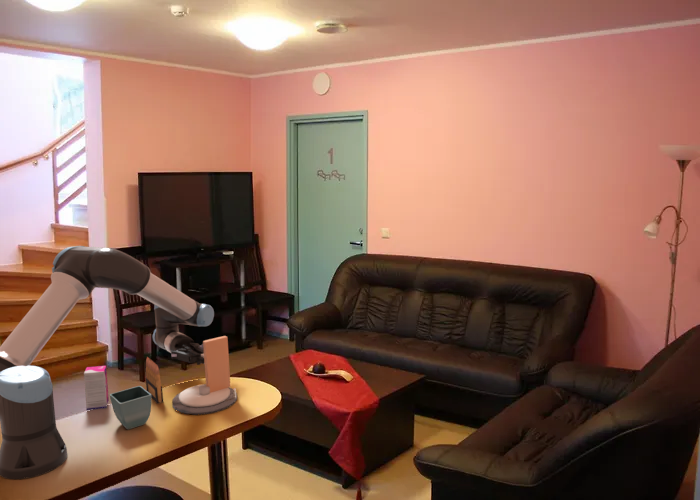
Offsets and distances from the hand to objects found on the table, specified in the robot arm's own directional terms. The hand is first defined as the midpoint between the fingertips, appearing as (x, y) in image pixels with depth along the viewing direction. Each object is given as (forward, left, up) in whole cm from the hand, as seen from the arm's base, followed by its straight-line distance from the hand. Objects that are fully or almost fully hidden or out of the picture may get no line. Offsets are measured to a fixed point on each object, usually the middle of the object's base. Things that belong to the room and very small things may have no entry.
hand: (212, 363), depth 185 cm
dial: (+2, -6, -8) cm, 10 cm away
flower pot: (-5, -27, -10) cm, 29 cm away
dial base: (+2, -6, -10) cm, 12 cm away
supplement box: (-25, -23, -10) cm, 36 cm away
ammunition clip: (-14, -11, -10) cm, 21 cm away
